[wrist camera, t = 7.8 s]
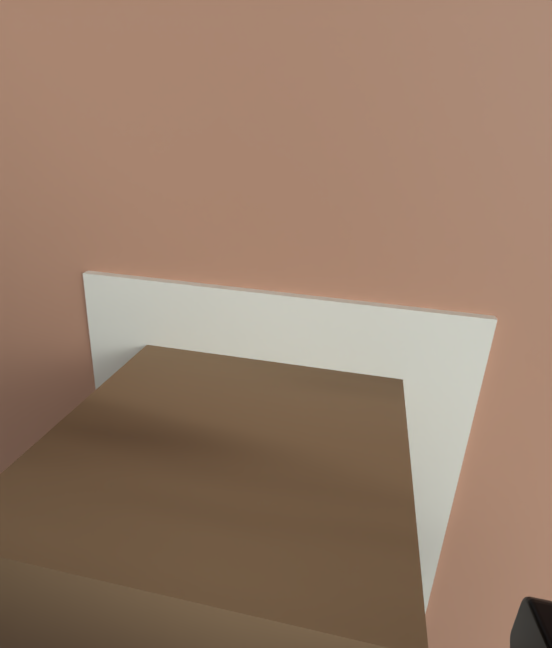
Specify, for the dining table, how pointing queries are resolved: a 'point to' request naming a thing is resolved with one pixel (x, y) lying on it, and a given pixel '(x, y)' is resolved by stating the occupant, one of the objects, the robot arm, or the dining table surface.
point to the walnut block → (216, 513)
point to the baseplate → (301, 235)
